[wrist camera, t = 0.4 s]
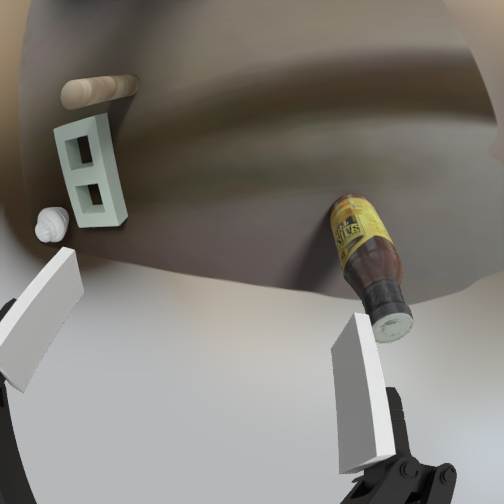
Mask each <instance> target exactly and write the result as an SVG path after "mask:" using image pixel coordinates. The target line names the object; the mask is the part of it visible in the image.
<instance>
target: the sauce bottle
mask: <svg viewBox="0 0 504 504" xmlns="http://www.w3.org/2000/svg"><path fill="white" fill-rule="evenodd" d="M330 222H331V227H332V231H333V235H334V239H335V242H336V247H337V251H338V254H339V258H340V263H341V267H342V272H343V276H344V278H345V280H346V281H347V282H348V283H349V284H350V286H351V287H352V288H353V289H354V290H355V292H356V293H357V295H358V296H359V297H360V299H361V300H362V304H363V306H364V308H365V312H366V314H367V315H369V318H370V322H371V326H372V330H373V334H374V338H375V342H378V343H390V342H394V341H396V340H399V339H400V338H402V337H404V336H405V335H406V334H407V333H408V332H409V331H410V329H411V328H412V326H413V317H412V313H411V311H410V308H409V307H408V306H407V305H406V304H405V302H404V298H403V296H402V294H401V288H400V283H401V279H402V264H401V261H400V259H399V256H398V255H397V253H396V249H395V246H394V244H393V242H392V240H391V238H390V236H389V235H388V233H387V231H386V229H385V227H384V225H383V223H382V221H381V220H380V218H379V216H378V214H377V212H376V210H375V208H374V207H373V206H372V205H371V203H370V202H369V201H368V200H367V199H366V198H364V197H363V196H361V195H358V194H347V195H345V196H342V197H341V198H340V199H338V200H337V201H336V202H335V204H334V205H333V207H332V209H331V219H330Z"/></svg>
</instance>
